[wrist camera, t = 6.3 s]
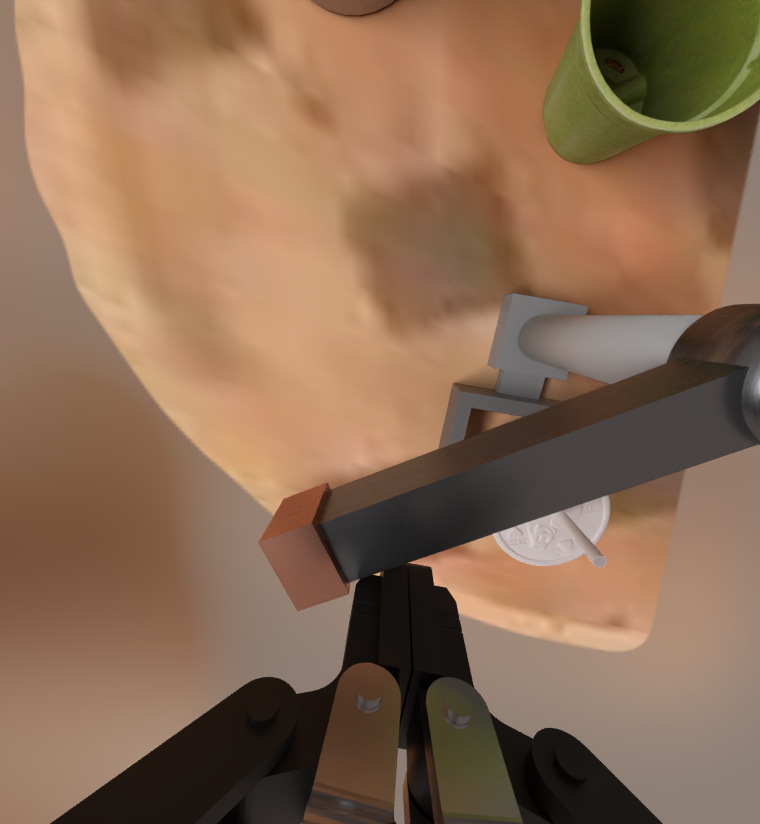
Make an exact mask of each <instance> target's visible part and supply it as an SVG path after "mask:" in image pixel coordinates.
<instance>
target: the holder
mask: <svg viewBox="0 0 760 824" xmlns="http://www.w3.org/2000/svg"><path fill="white" fill-rule="evenodd" d="M588 307H589V306H584V305H579V304H573V303H567V302H561V301H556V300H550V299H544V298H538V297H533V296H527V295H521V294H515V293H512V294H507V295H504V299H503V303H502V307H501V311H500V315H499V320H498V324H497V328H496V332H495V336H494V340H493V344H492V348H491V352H490V356H489V360H488V364H487V365H489V366H491V367H493V368H495V369H500V372H499V375H498V379H497V383H496V387H495V390H490V389H484V388H478V387H472V386H466V385H460V384H455V383H453V386H452V390H451V395H450V399H449V404H448V408H447V413H446V417H445V422H444V426H443V431H442V435H441V440H440V444H439V449H440V448H443V447H445V446H448V445H451V444H453V443H456V442H459V441H461V440H464V437H465V433H466V429H467V425H468V421H469V416H470V412H471V408H475V409H481V410H487V411H492V412H498V413H504V414H510V415H516V416H522V417H525V416H528V415H530V414H533V413H536V412H538V411H541V410H544V409H546V408H549V407H552V406H554V405H557V404H560V403H562V402H560V401H555V400H549V399H543V398H540V394H541V391H542V387H543V384H544V380H545V377H548V378H554V379H559V380H565V381H566V379H567V376H568V372H572V373H576V374H579V375H582V376H585V377H588V378H591V379H594V380H598V381H601V382H604V383H607V384H613V383H615V382H618V381H621V380H623V379H626V378H629V377H631V376H634V375H637V374H639V373H642V372H645V371H647V370H650V369H653V368H655V367H658V366H661V365H663V364H666V363H667V359H668V357H669V354H670V352H671V350H672V348H673V346H674V345H675V343H676V342H677V340H678V339H679V337H680V336H681V335H682V334H683V333H684V331H685V330H686V329H687V328H688V327H689V326H691V325H692V324H693V323H694V322H695V321H697V320H698V319H699V318H701V317H703V316H704V315H586V313H587V310H588Z"/></svg>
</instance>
